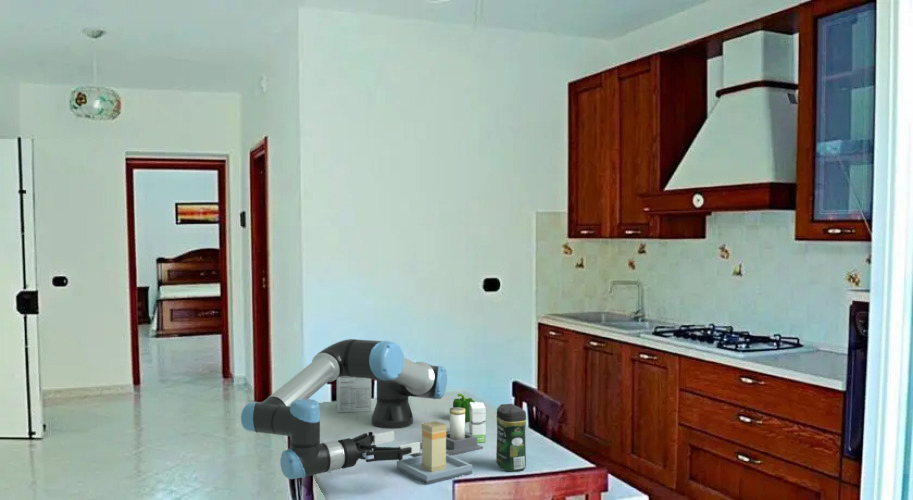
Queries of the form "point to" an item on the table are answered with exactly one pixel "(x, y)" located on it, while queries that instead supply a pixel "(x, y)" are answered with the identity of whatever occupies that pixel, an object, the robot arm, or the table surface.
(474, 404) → the ink box
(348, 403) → the supplement box
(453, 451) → the holder block
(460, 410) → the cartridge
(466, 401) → the bell pepper
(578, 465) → the table surface
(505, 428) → the coffee jar
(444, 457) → the beige tall box
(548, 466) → the table surface
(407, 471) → the tray
